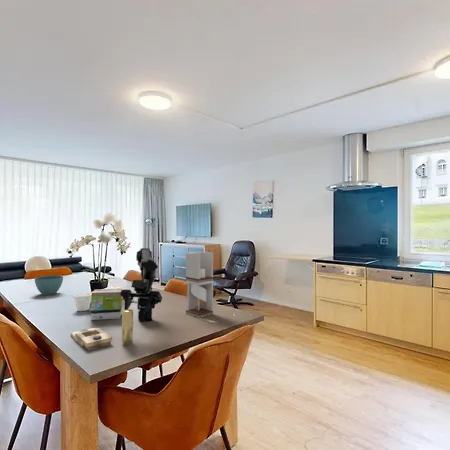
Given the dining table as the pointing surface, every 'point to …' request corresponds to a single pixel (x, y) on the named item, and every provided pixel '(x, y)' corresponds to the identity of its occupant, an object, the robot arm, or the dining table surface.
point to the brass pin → (127, 327)
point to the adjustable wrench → (134, 301)
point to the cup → (82, 301)
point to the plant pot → (48, 284)
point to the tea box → (106, 304)
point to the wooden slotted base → (92, 338)
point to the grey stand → (199, 283)
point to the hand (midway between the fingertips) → (134, 312)
